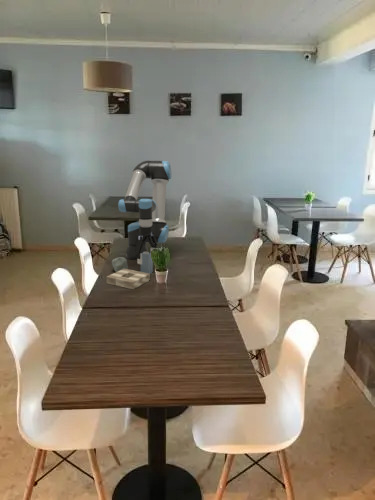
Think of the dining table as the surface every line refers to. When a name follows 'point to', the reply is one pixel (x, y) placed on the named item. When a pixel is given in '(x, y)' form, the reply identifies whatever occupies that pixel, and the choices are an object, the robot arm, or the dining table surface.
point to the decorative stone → (119, 264)
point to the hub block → (128, 278)
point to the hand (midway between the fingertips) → (146, 261)
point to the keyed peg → (146, 263)
